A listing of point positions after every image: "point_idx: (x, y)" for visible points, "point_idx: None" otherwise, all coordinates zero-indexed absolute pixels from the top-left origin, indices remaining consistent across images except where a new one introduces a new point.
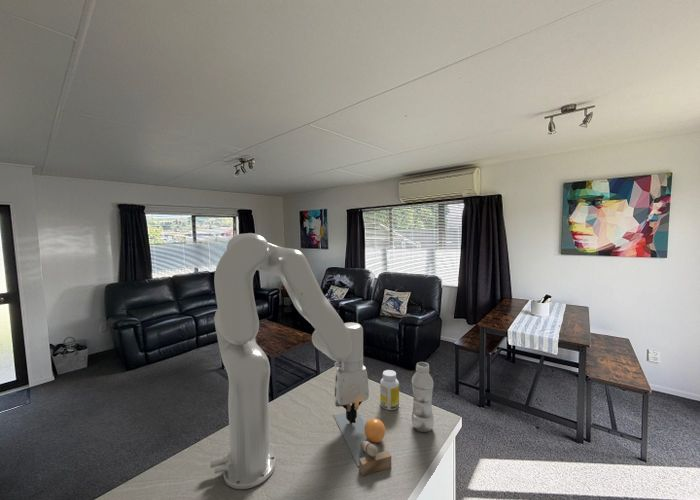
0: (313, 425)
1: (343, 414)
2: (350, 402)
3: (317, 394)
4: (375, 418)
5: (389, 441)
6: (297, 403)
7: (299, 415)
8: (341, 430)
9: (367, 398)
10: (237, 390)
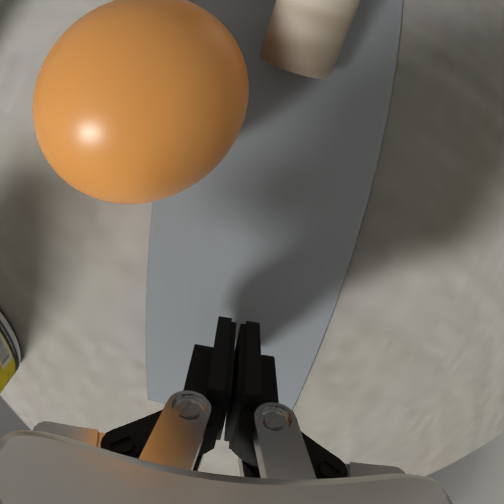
0: (406, 395)
1: None
2: (310, 498)
3: None
4: (56, 134)
5: None
6: None
7: (398, 447)
8: (329, 312)
9: (16, 433)
10: None
